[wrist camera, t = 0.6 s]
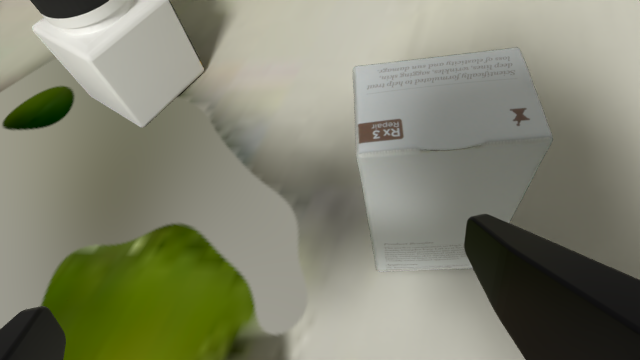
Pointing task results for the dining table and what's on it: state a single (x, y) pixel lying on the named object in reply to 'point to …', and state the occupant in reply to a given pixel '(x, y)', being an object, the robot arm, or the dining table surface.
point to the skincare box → (444, 151)
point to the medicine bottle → (121, 51)
